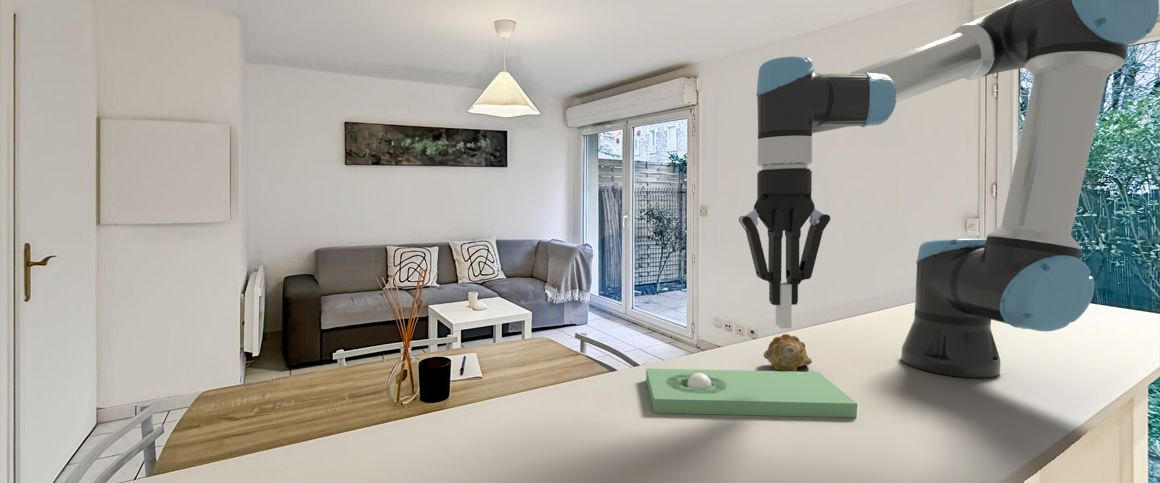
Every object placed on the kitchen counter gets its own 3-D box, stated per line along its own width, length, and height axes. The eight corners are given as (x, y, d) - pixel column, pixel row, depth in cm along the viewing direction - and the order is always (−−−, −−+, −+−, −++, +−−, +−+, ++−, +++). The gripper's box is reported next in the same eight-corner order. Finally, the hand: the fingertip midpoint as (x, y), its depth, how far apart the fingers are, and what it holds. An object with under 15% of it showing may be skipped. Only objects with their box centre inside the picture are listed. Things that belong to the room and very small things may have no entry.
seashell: (820, 391, 99) (822, 349, 93) (772, 397, 100) (771, 355, 94) (803, 354, 106) (804, 313, 101) (759, 359, 107) (758, 319, 102)
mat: (818, 384, 93) (818, 372, 93) (856, 417, 79) (857, 403, 79) (646, 380, 94) (646, 368, 94) (654, 412, 80) (654, 398, 80)
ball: (692, 365, 88) (681, 385, 88) (697, 372, 85) (685, 392, 85) (712, 377, 88) (701, 397, 88) (718, 384, 85) (706, 404, 85)
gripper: (819, 167, 87) (817, 319, 89) (733, 170, 87) (733, 321, 90) (840, 165, 79) (837, 331, 82) (745, 168, 80) (745, 333, 82)
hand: (783, 326), depth 86 cm, fingers closed
